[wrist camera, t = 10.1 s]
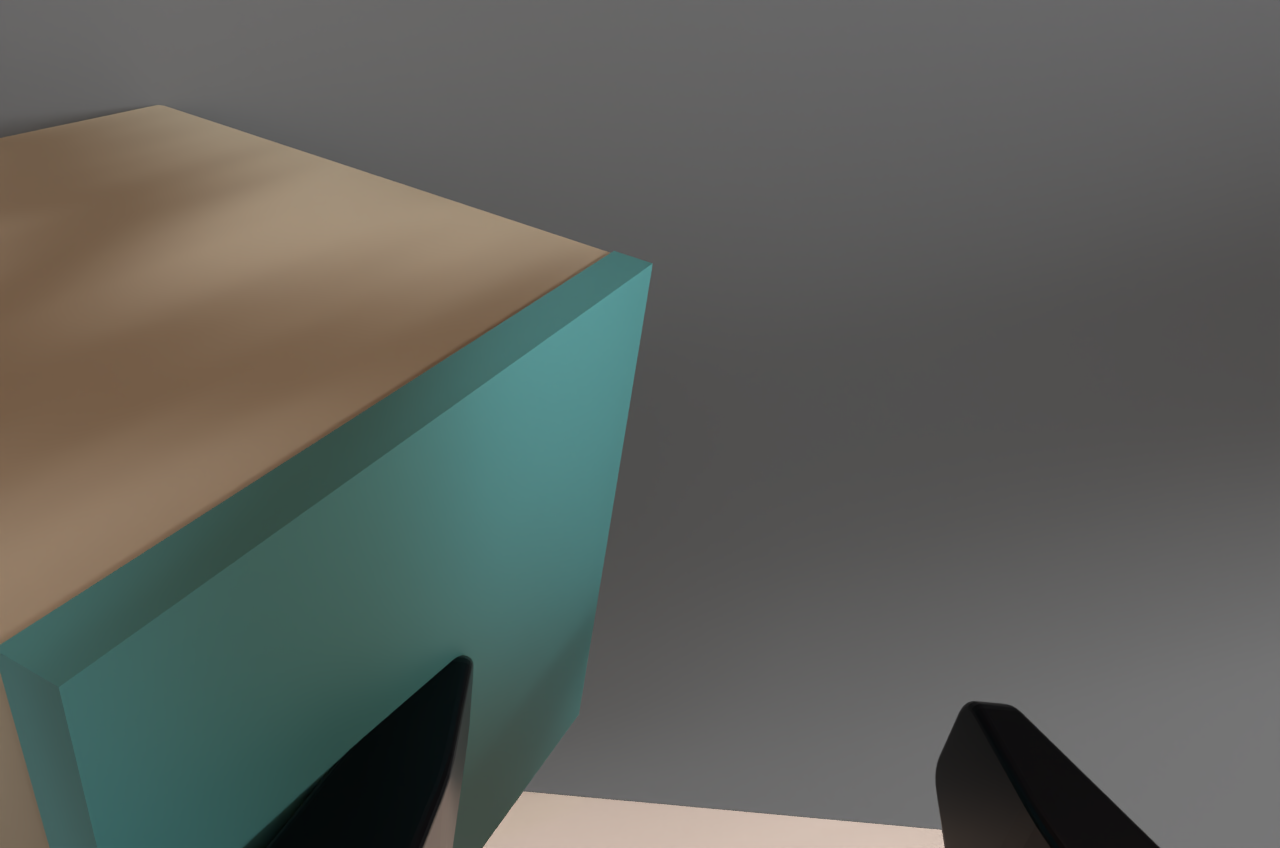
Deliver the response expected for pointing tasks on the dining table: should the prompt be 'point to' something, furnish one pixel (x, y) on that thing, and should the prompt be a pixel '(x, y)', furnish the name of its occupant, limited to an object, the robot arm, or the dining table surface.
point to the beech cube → (283, 477)
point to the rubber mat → (851, 356)
